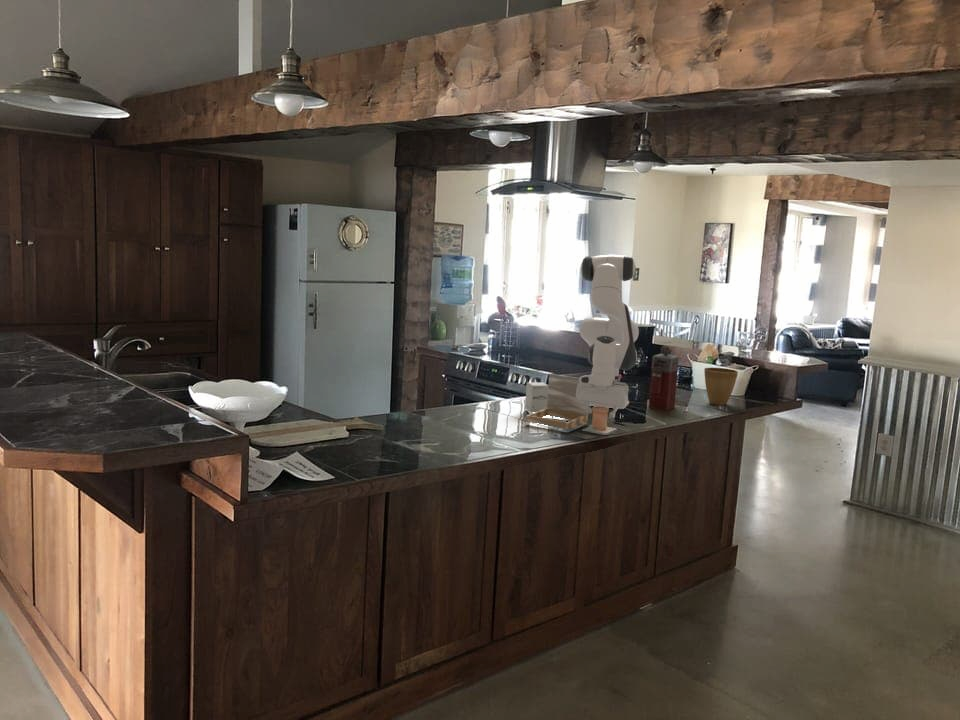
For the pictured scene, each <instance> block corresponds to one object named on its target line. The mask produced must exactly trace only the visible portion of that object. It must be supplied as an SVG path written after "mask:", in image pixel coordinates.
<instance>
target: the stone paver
mask: <svg viewBox="0 0 960 720" xmlns="http://www.w3.org/2000/svg"><path fill="white" fill-rule="evenodd" d="M590 425H591V426H592V424H590ZM613 430H616V431H617V428H615V427H609V426H607V429H606V430H597V432H601V433H609V432H611V431H613Z"/></svg>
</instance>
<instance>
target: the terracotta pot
mask: <svg viewBox="0 0 960 720" xmlns="http://www.w3.org/2000/svg"><path fill="white" fill-rule="evenodd" d="M591 409H592V419H591V420H592V421H591V425H592V429H594V430H606V429H607V427H608V413H610V412H609V410H610V409H609V408H606V407H599V406H597V407H591Z"/></svg>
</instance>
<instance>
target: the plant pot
mask: <svg viewBox="0 0 960 720" xmlns="http://www.w3.org/2000/svg"><path fill="white" fill-rule="evenodd" d="M738 374H739V371H738V370H735V369H731V368H725V367H724V368H723V367H705V368H704V382H705V388H706V394H707V398H708V401H709V404H710V403H711V405H714V404H716V405H715V406H726V405H727V404H728V402H729V400H730V398H731V396H732V393H733V391H734V388H735V384H736V381H737V378H738ZM725 404H726V405H725Z"/></svg>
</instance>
